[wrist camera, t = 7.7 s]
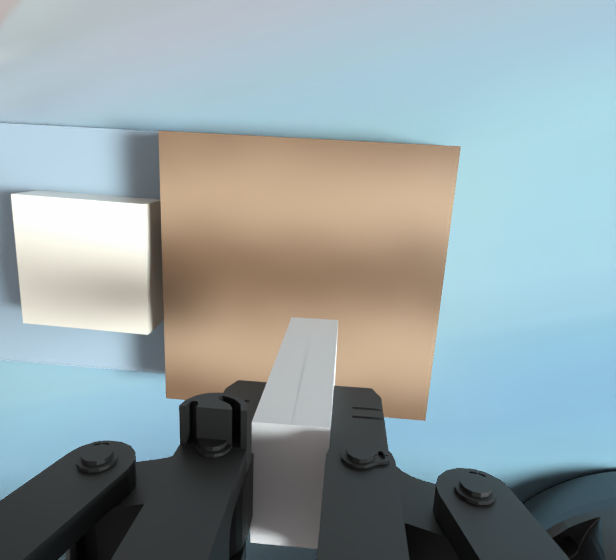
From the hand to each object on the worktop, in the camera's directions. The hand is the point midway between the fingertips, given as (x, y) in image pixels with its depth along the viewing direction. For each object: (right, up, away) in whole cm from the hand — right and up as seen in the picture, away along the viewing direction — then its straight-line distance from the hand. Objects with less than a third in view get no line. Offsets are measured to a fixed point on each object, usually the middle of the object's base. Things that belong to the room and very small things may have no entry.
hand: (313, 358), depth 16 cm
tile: (-10, +4, +8) cm, 14 cm away
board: (0, +3, +8) cm, 9 cm away
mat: (-12, +4, +9) cm, 15 cm away
